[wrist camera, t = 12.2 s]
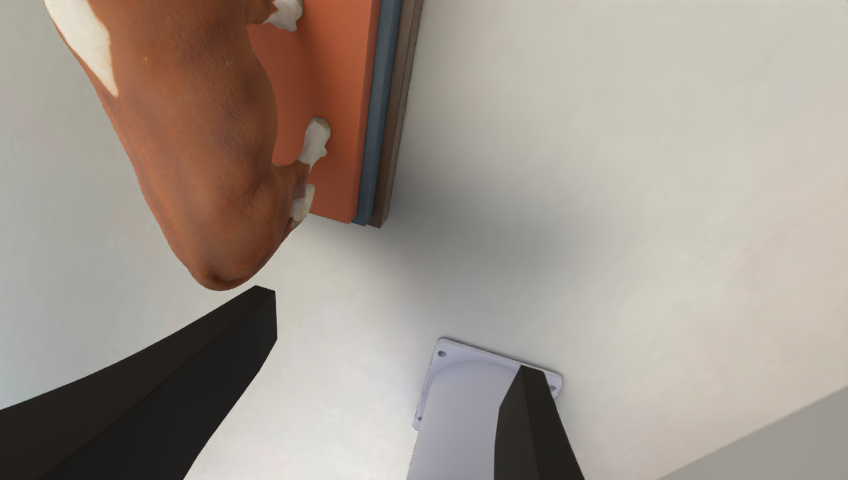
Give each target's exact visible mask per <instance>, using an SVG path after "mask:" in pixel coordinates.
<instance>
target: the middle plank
mask: <svg viewBox="0 0 848 480" xmlns="http://www.w3.org/2000/svg"><path fill="white" fill-rule="evenodd" d="M401 4H402V0H381V4H380V13H379V21H378V30H377V39H376V47H375V56H374V65H373V73H372V82H371V91H370V99H369V108H368V117H367V126H366V134H365V143H364V152H363V160H362V169H361V178H360V186H359V195H358V204H357V212H356V216H355V217H354V218H353V219H352V221H351V222H352V223H355V224H359V225H362V226H366V224H367V223H368V222H369V221H370V219H371V218H372V212H373V205H374V198H375V190H376V183H377V176H378V169H379V162H380V155H381V147H382V140H383V133H384V126H385V119H386V112H387V104H388V97H389V90H390V83H391V76H392V69H393V61H394V54H395V47H396V40H397V33H398V26H399V18H400V11H401Z"/></svg>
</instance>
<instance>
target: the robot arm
mask: <svg viewBox="0 0 848 480" xmlns="http://www.w3.org/2000/svg"><path fill="white" fill-rule="evenodd" d="M276 340H277V318H276V296H275V291H274V290H270V289H267V288H264V287H260V286H257V285H255V286H253V287H252V288H250V289H248V290H246V291H245V292H243V293H241V294H240V295H238V296H236V297H235V298H233V299H231V300H230V301H228V302H226V303H225V304H223V305H221V306H220V307H218V308H216V309H215V310H213V311H211V312H210V313H208V314H206V315H205V316H203V317H201V318H199V319H198V320H196V321H194V322H192V323H191V324H189V325H187V326H186V327H184V328H182V329H180V330H179V331H177V332H175V333H173V334H171V335H170V336H168V337H166V338H164V339H162V340H160V341H158V342H156V343H154V344H152V345H151V346H149V347H147V348H145V349H143V350H141V351H139V352H137V353H135V354H133V355H131V356H129V357H127V358H125V359H123V360H121V361H119V362H117V363H115V364H113V365H110V366H108V367H106V368H104V369H102V370H99V371H97V372H95V373H93V374H91V375H88V376H86V377H84V378H81V379H79V380H77V381H74V382H72V383H69V384H67V385H64V386H62V387H59V388H57V389H54V390H52V391H49V392H47V393H44V394H42V395H39V396H37V397H34V398H32V399H29V400H26V401H24V402H21V403H18V404H16V405H13V406H10V407H7V408H4V409H2V410H0V480H183V479H184V478H185V476H186V474H187V473H188V471H189V469H190V468H191V466H192V464H193V463H194V461H195V460H196V458H197V456H198V455H199V453H200V452H201V450H202V449H203V448H204V446H205V445H206V443H207V442H208V440H209V439H210V437H211V436H212V435H213V433H214V432H215V431H216V429H217V428H218V427H219V425H220V424H221V423H222V421H223V420H224V418H225V417H226V416H227V414H228V413H229V412H230V410H231V409H232V408H233V406H234V405H235V404H236V402H237V401H238V400H239V398H240V397H241V395H242V394H243V393H244V391H245V390H246V389H247V387H248V386H249V384H250V383H251V382H252V380H253V379H254V378H255V376H256V375H257V373H258V372H259V371H260V369H261V367H262V365H263V364H264V362H265V360H266V359H267V357H268V355H269V353H270V351H271V350H272V348H273V346H274V344H275V342H276ZM441 351H444V352H441ZM562 386H563V378H562V376H561V375H559V374H557V373H554V372H550V371H547V370H544V369H541V368H538V367H534V366H531V365H528V364H525V363H522V362H518V361H515V360H512V359H509V358H506V357H502V356H499V355H496V354H493V353H490V352H486V351H483V350H480V349H477V348H474V347H470V346H467V345H464V344H461V343H458V342H454V341H451V340H448V339H440V340H438V342H437V344H436V348H435V351H434V354H433V358H432V361H431V364H430V368H429V371H428V374H427V378H426V381H425V384H424V388H423V391H422V394H421V398H420V401H419V404H418V407H417V411H416V414H415V417H414V421H413V424H412V426H413V428H414V429H415V430H417V431H419V432H418V436H417V440H416V444H415V448H414V452H413V455H412V459H411V463H410V467H409V471H408V475H407V479H406V480H585V479H584V476H583V474H582V472H581V470H580V467H579V465H578V462H577V460H576V458H575V455H574V453H573V450H572V448H571V445H570V443H569V440H568V438H567V435H566V433H565V430H564V427H563V425H562V422H561V419H560V417H559V414H558V411H557V408H556V405H555V403H554V399H555V397H556V396H557V394H558V392H559V391H560V389H561V387H562Z"/></svg>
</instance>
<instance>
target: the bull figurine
mask: <svg viewBox="0 0 848 480" xmlns="http://www.w3.org/2000/svg"><path fill="white" fill-rule="evenodd" d="M44 3H45V5H46V8H47V10H48V13H49V15H50V17H51V19H52V21H53V23H54V25H55V27H56V29H57V31H58V33H59V34H60V36H61V38H62V39H63V41H64V42H65V44H66V45H67V46H68V48H69V49H70V51H71V52H72V53H73V55H74V56H75V57H76V59H77V60H78V61H79V63H80V64H81V66H82V67H83V69H84V71H85V72H86V74H87V75H88V77H89V79H90V81H91V83H92V84H93V86H94V88H95V90H96V92H97V94H98V97H99V99H100V101H101V103H102V105H103V107H104V109H105V111H106V113H107V115H108V117H109V119H110V121H111V123H112V125H113V127H114V129H115V131H116V133H117V135H118V138H119V140H120V142H121V144H122V146H123V147H124V149H125V151H126V153H127V155H128V157H129V159H130V161H131V163H132V165H133V167H134V170H135V172H136V175H137V178H138V181H139V184H140V187H141V190H142V193H143V195H144V198H145V200H146V202H147V204H148V206H149V208H150V209H151V211H152V213H153V215H154V216H155V218H156V220H157V222H158V224H159V225H160V227H161V229H162V232H163V234H164V236H165V238H166V240H167V242H168V244H169V245H170V247H171V249H172V251H173V252H174V254H175V255H176V257H177V258H178V259H179V260H180V261H181V262H182V263H183V264H184V265H185V266H186V267H187V268H188V270H189V272H190V273H191V275H192V276H193V277H194V278H195V280H196V281H197V282H198V283H199V284H200V285H202V286H204V287H205V288H208V289H211V290H215V291H224V290H230V289H233V288H235V287H237V286H240V285H241V284H243V283H245V282H246V281H248V280H249V279H250V278H251V277H253V276H254V275H255V274H256V273H257V272H258V271H259V270H260V269H261V268H262V267H263V266H264V265H265V264H266V263H267V262H268V260H269V259H270V258H271V257H272V256H273V254H274V253H275V252H276V250H277V249H278V248H279V246H280V245H281V243H282V242H283V241H284V240H285V238H286V237H287V236H288V235H289V234H290V232H291V231H292V230H293V229H295V228H296V227H297V226H298V225H299V224H300V223H301V222H302V221H303V220H304V218H305V217H306V216H307V214H308V213H309V210H310V208H311V203H312V201H313V195H314V193H315V187H314V185H313V184H307V180H308V177H309V174H310V171H311V169H312V166H313V165H314V163H315V162H316V161H317V160H318V159H319V158H320V157H323V156H325V155H326V154H327V150H326V149H325V144H326V142H327V140H328V139H329V138H330V136H331V127H330V126H329V124H328V122H327V121H326V120H325V119H323V118H319V117H313V118H312V119H311V121H310V122H309V124H308V128H307V130H306V133H305V139H304V146H303V149H302V151H301V153H300V155H299V157H298V158H297V159H296V160H295V161H294V162H293V163H291V164H290V165H286V166H282V165H280V164H273V163H272V156H273V151H274V147H275V143H276V138H277V131H278V109H277V101H276V97H275V93H274V90H273V87H272V84H271V82H270V79H269V77H268V75H267V73H266V71H265V69H264V68H263V66H262V64H261V63H260V61H259V60H258V58H257V56H256V55H255V53H254V51H253V49H252V46H251V42H250V38H249V34H248V31H247V28H246V26H247V25H250V24H251V23H254V24H257V25H262V24H265V23H267V22H270V23H272V24H273V25H274V26H275V27H277V28H279V29H286V30H287V31H289V32H294V31H296V30H297V27H296V21H297V20H298V18H300V17H301V16H302V14H303V2H302V0H275V2H271V0H44Z"/></svg>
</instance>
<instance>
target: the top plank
mask: <svg viewBox="0 0 848 480" xmlns="http://www.w3.org/2000/svg"><path fill="white" fill-rule="evenodd" d="M271 2H275V0H271ZM302 2H303V14H302V16H301V17H300V18H298V20H297V21H296V27H297V30H296V31H294V32H289V31H287V30H286V29H279V28H277V27H275V26H274V25H273V24H272V23H270V22H267V23H265V24H262V25H257V24H254V23H251V24H250V25H247V26H246V28H247V31H248V34H249V38H250V42H251V46H252V49H253V51H254V53H255V55H256V56H257V58H258V60H259V61H260V63H261V64H262V66H263V68H264V69H265V71H266V73H267V75H268V77H269V79H270V82H271V84H272V87H273V90H274V93H275V97H276V101H277V109H278V131H277V138H276V143H275V147H274V151H273V156H272V163H273V164H280V165H282V166H286V165H290V164H291V163H293V162H294V161H295V160H296V159H297V158H298V157H299V155H300V153H301V151H302V149H303V146H304V139H305V133H306V130H307V128H308V124H309V122H310V121H311V119H312V118H313V117H319V118H323V119H325V120H326V121H327V122H328V124H329V126H330V127H331V136H330V138H329V139H328V140H327V142H326V144H325V149H326V150H327V154H326V155H325V156H323V157H320V158H319V159H318V160H317V161H316V162H315V163H314V165H313V166H312V169H311V171H310V174H309V177H308V180H307V184H313V185H314V187H315V193H314V195H313V201H312V203H311V208H310V210H309V213H312V214H316V215H319V216H323V217H326V218H329V219H333V220H336V221H340V222H343V223H347V224H349V223H350V222H351V221H352V219H353V218H354V217H355V216H356V212H357V204H358V195H359V186H360V178H361V169H362V160H363V152H364V143H365V134H366V126H367V117H368V108H369V99H370V91H371V82H372V73H373V65H374V56H375V47H376V39H377V30H378V21H379V13H380V4H381V0H302Z"/></svg>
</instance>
